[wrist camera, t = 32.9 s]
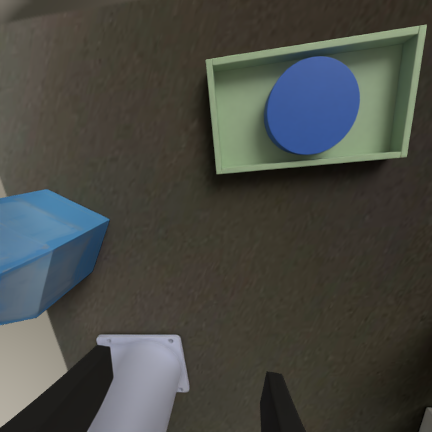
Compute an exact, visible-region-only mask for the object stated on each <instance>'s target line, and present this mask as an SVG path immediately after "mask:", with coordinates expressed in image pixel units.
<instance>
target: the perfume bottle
mask: <svg viewBox="0 0 432 432" xmlns="http://www.w3.org/2000/svg"><path fill="white" fill-rule="evenodd" d="M109 221H110V219H108V218H106V217H104V216H102V215H100V214H97V213H95V212H93V211H91V210H89V209H87V208H85V207H83V206H81V205H79V204H77V203H75V202H72V201H70V200H68V199H66V198H64V197H62V196H60V195H58V194H56V193H54V192H52V191H50V190H47V189H45V190H40V191H35V192H30V193H25V194H20V195H15V196H9V197H5V198H0V325H4V324H8V323H13V322H18V321H23V320H28V319H33V318H37V317H38V316H39V315H40V314H42V313H43V312H44V311H45V310H46V309H48V308H49V307H50V306H51V305H53V304H54V303H55V302H56V301H57V300H59V299H60V298H61V297H62V296H63V295H65V294H66V293H67V292H68V291H69V290H71V289H72V288H73V287H74V286H76V285H77V284H78V283H79V282H80V281H82V280H83V279H84V278H85V277H86V276H88V275H89V274H90V273H91V272H92V271H93V269H94V266H95V263H96V260H97V257H98V254H99V251H100V248H101V245H102V242H103V239H104V236H105V233H106V230H107V227H108V224H109Z"/></svg>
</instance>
